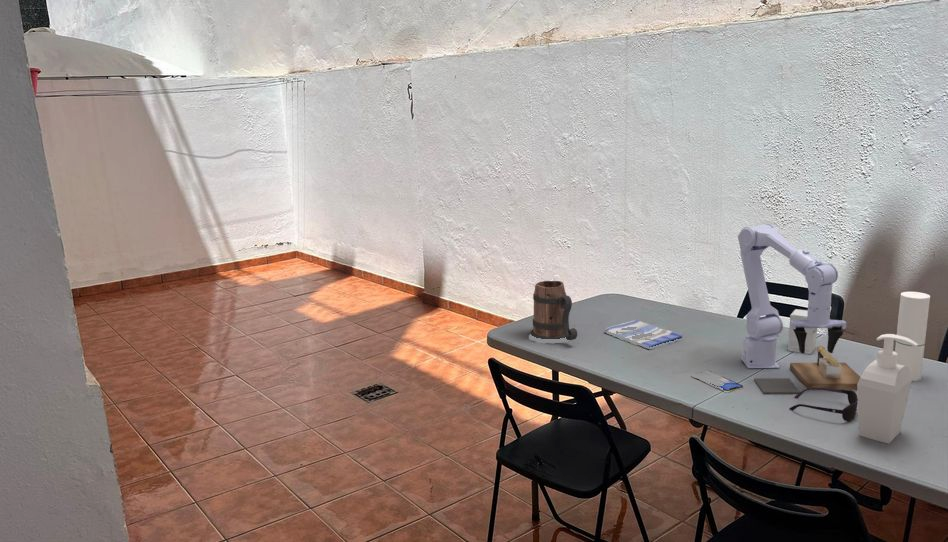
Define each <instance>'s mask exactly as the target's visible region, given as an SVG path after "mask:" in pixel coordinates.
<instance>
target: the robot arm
mask: <svg viewBox="0 0 948 542" xmlns="http://www.w3.org/2000/svg"><path fill="white" fill-rule="evenodd" d="M737 240H738V244H739V249H740V258H741V261H742V262H741V263H742V268H743V272H744V278H745V281H746V286H747V291H748V296H749V301H750V304H751V305H750V306H751V309H750V311H748V313H747V314H746V316H745V318H746V326H745V328H746V331H747V334H748V335H749V336H747V337H746V336H745V337H744V338H743V341H742V356H741V360H742V362H743V363H744V365H745V366H746V367H747V368H748V369H780V365H779V364H778V362H776V355H777V354H776V351H777V338H779V334H781V333H782V332H783V329H784V323H783V320H782V318H781V317H780V314H779V310H778V309H776V308H775V307H773V306H772V305H771V301H770V297H769V291H768V287H767V284H766V278H765V274H764V270H763V264H762V260H761V256H762V254H763V253H764V251H765V250H767V249H768V248H769V247H770V248H772V249H774V250H775V251H777V252H778V253H780V254H781V255H783V256H784V257H786V258H787V259H788V261H789V264H790V266H792V268H794V269H795V270H797V271H798V272H799V273H800V274H802V275H803V276H804V278H805V281H806V283H807V289H808V300H807V301H808V302H807V311H808V314H807V319H804V320H796V321H790V320H789V326H790V328H791V329H793V330H794V332H795V335H796V337H797V340H798V344H799V351H800V352H801V353H800V352H799V353H800V354H805V353H804V352H805V340H806V336H807V333H806V332H805V330H804V328H817V329H827V347H826V348H827V349H826V351H827V352H828V353H829V354H833V353H834V350H835V347H836V344H837V343H838V341H839V339H841V337H842V336H843V335H844V330H845V329H847V322H846V321H845V320H844V319H843V320H841V319H840V320H839V319H831V317H830V316H831V307H832V306H831V305H832V295H833V284H835V283H836V282H837V281H838V278H839V274H838V273H839V272H838V270H837V268H836V267H835V266H834V265H833V264H832V263H825V262H822V260H820V259H818V258H817V257H815V256H814V255H812V254H811V252H810V251H809V250H808V249H804V248H801V249H797V248H796V247H795V246H794V245H793V244H792V243H791V242H789V241H788V240H787V239H786V238H785V237H784V236H782V234H780V231H779V228H777V227H776V226H774V225H773V224H771V223H764V224H761V225H754V226H745V227H743V228H742V229H741V230H740V232H739V233H738V235H737Z"/></svg>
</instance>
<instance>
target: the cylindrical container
mask: <svg viewBox="0 0 948 542" xmlns="http://www.w3.org/2000/svg"><path fill="white" fill-rule="evenodd" d="M930 300H931V295H930V294H928V293H925V292H919V291H902V292H901V293H900V299H899V308H898V317H897V318H898V319H897V328H896V335H899V336H903V337H907V338H909V339H911V340H913V341H914V342H916V343H917V344H918V345H917V346H916V347H914V346H912V345H910V344H908V343H905V342H902V341H897V340H895V346H894V347H895V348H894V352H896V353H897V354H898V356H897V364H899V365H903V366H906V367H908V368H909V370H910V372H911V375H912V382H918V381H921V380H922V374H923V373H922V371H923V365H924V364H923V362H924V354H925V345H926V336H927V326H928V320H929V319H928V318H929V309H930V302H931V301H930ZM917 380H918V381H917Z"/></svg>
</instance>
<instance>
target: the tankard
mask: <svg viewBox="0 0 948 542" xmlns="http://www.w3.org/2000/svg"><path fill="white" fill-rule="evenodd" d="M533 291H534V292H533V295H532V299H533V317H532V327H533V328H532V329H531V330H530V333H529V334H531V335H532V336H534V337H536V338H541V339H560V338H565V337H566V339H567V340H570V341H572V340H576V339H577V337H578V331H577V329H576V328H574V327H572V328H570V323H569V322H570V321H569V320H570V313H571V310H572V306H573V301H572V299H571V297H570V295H567V293H566V289H565V284H564V282H563V281H561V280H542V281H539V282H536V283H535V286H534V290H533Z"/></svg>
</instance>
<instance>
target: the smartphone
mask: <svg viewBox="0 0 948 542" xmlns="http://www.w3.org/2000/svg"><path fill="white" fill-rule="evenodd" d="M709 371H710V372H712V371H711V370H709ZM722 377H723V378H722V379H719V380H722V381H724V382H726V383H720V384H724V385H723V386H718V385H714V384H712V385H714V386H717V387H721V388H723V390H725V391H731V390H736V389H739V390H741V389H740V388H742V389H744V385H743V384H740V383H738V382H735V381H733V380H731V379H730V378H726V377H724V376H722ZM709 381H710V380H709ZM718 383H719V382H718ZM710 384H711V383H710ZM736 391H737V390H736Z"/></svg>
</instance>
